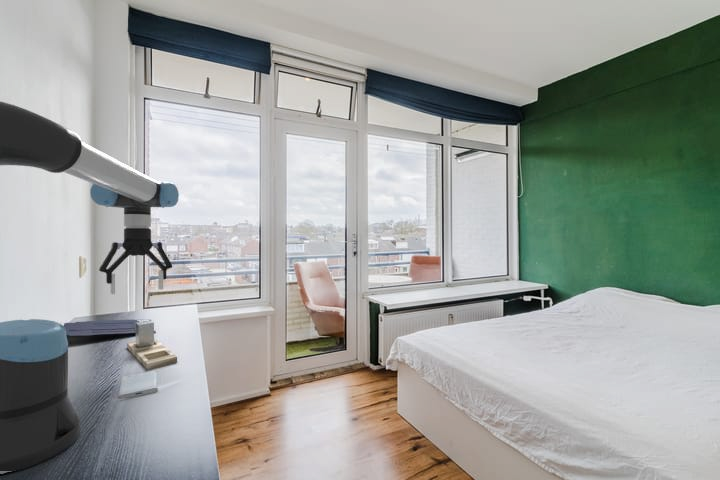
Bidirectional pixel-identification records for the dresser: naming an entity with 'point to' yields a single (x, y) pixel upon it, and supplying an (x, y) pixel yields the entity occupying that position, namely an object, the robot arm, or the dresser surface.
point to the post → (144, 334)
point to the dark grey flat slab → (100, 327)
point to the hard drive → (138, 384)
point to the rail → (152, 354)
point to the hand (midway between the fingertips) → (137, 291)
